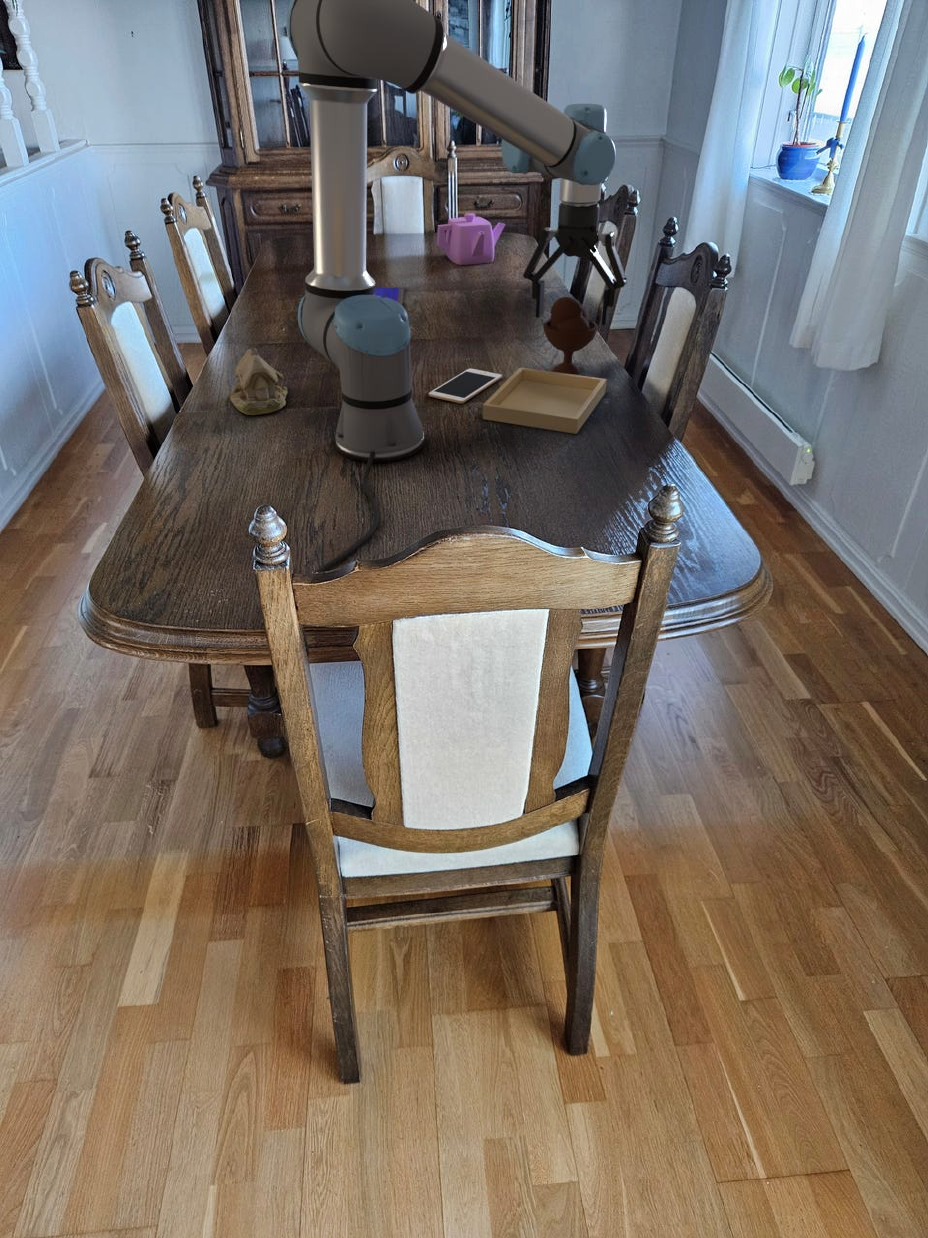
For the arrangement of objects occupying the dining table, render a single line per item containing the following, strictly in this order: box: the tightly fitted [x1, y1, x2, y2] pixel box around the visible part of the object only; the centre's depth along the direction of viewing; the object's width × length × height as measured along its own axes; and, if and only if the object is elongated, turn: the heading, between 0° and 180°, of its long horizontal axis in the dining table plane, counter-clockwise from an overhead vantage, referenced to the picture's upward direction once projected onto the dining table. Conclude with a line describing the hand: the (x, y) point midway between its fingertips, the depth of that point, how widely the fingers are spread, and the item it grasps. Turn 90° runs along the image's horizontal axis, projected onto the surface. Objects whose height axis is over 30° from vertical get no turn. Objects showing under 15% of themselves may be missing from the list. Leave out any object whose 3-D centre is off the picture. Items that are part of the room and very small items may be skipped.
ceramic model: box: [229, 347, 288, 416], centre depth 156 cm, size 14×11×10 cm
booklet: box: [375, 287, 405, 306], centre depth 209 cm, size 12×25×1 cm, turn 1°
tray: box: [482, 366, 608, 435], centre depth 156 cm, size 21×18×3 cm
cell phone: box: [428, 367, 503, 404], centre depth 164 cm, size 8×16×1 cm, turn 149°
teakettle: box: [436, 212, 506, 266], centre depth 244 cm, size 17×17×12 cm
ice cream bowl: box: [542, 296, 599, 375], centre depth 167 cm, size 11×11×15 cm
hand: (571, 319), depth 165 cm, fingers open, 13 cm apart
